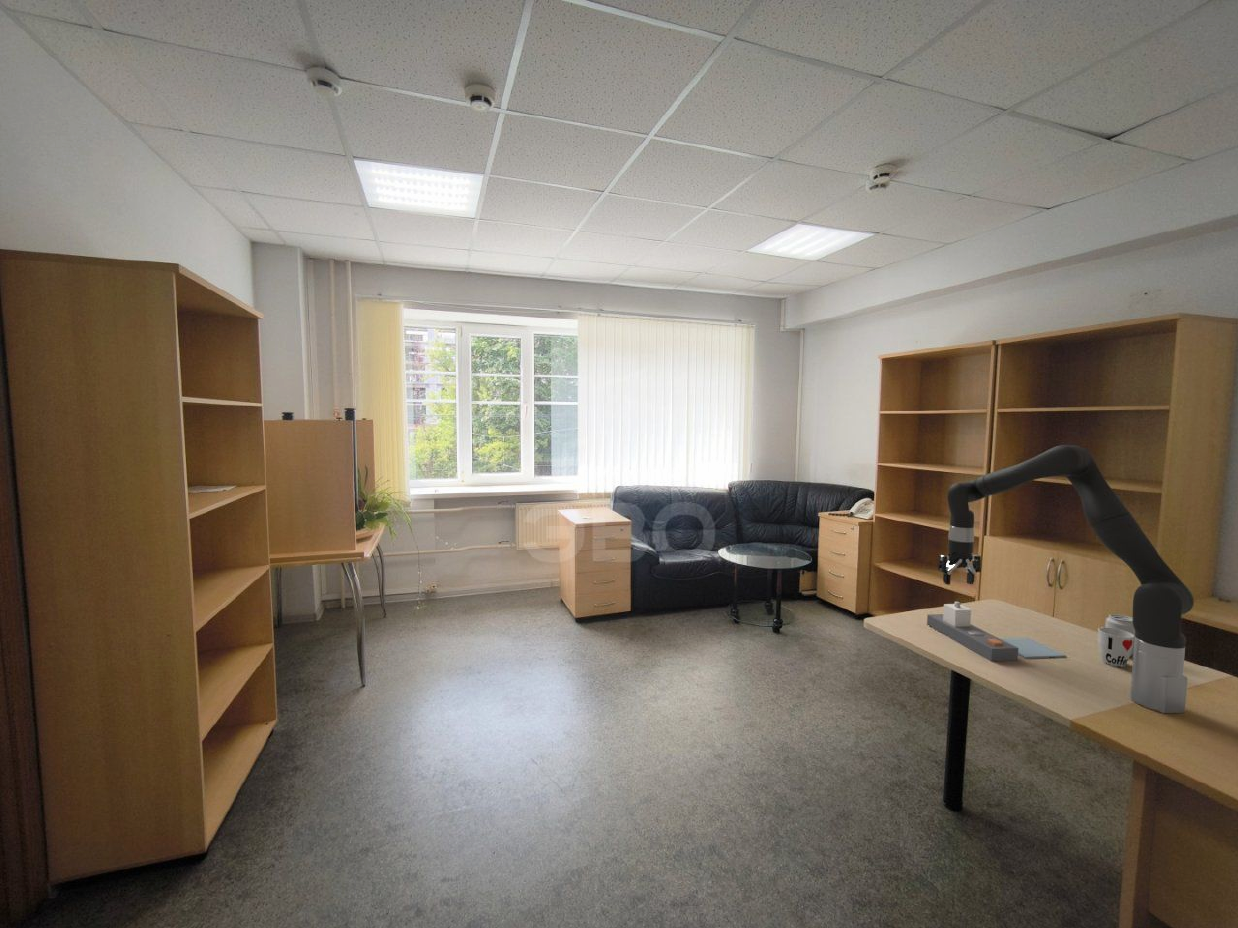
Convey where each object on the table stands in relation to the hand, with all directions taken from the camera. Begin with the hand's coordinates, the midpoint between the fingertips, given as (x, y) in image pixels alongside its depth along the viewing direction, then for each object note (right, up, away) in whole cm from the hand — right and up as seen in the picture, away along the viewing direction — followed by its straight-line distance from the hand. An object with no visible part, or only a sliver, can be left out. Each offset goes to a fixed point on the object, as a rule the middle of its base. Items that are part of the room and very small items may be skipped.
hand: (958, 583), depth 182 cm
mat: (+16, -19, -11) cm, 27 cm away
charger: (0, -16, +1) cm, 16 cm away
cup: (+35, -20, -21) cm, 45 cm away
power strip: (0, -19, -5) cm, 19 cm away
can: (+44, -20, -13) cm, 50 cm away
